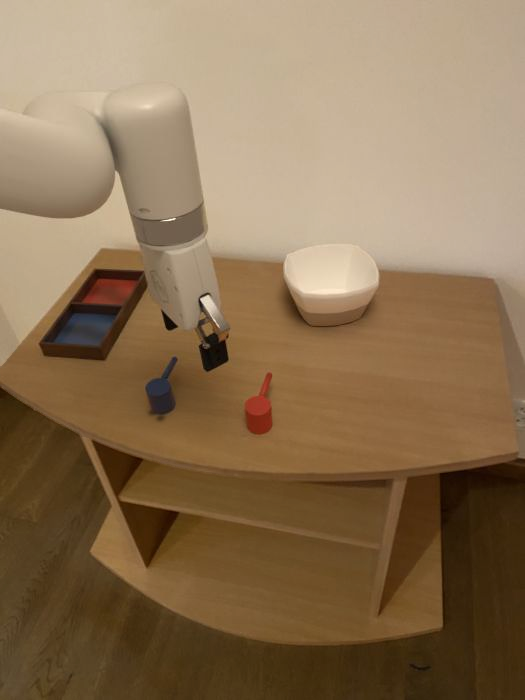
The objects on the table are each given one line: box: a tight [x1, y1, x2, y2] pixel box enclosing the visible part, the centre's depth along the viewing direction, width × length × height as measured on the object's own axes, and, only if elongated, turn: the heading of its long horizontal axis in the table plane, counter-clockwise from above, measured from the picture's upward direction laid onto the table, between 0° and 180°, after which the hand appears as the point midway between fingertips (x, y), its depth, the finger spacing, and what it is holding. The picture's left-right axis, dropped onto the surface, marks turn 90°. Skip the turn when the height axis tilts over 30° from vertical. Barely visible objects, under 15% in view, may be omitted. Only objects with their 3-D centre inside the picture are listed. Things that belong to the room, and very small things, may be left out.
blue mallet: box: [145, 356, 179, 415], centre depth 85 cm, size 10×4×4 cm, turn 165°
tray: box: [38, 267, 148, 361], centre depth 102 cm, size 25×12×3 cm, turn 170°
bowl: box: [282, 243, 381, 327], centre depth 98 cm, size 18×18×9 cm
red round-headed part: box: [244, 371, 273, 435], centre depth 80 cm, size 10×4×4 cm, turn 165°
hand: (196, 344), depth 63 cm, fingers open, 9 cm apart
